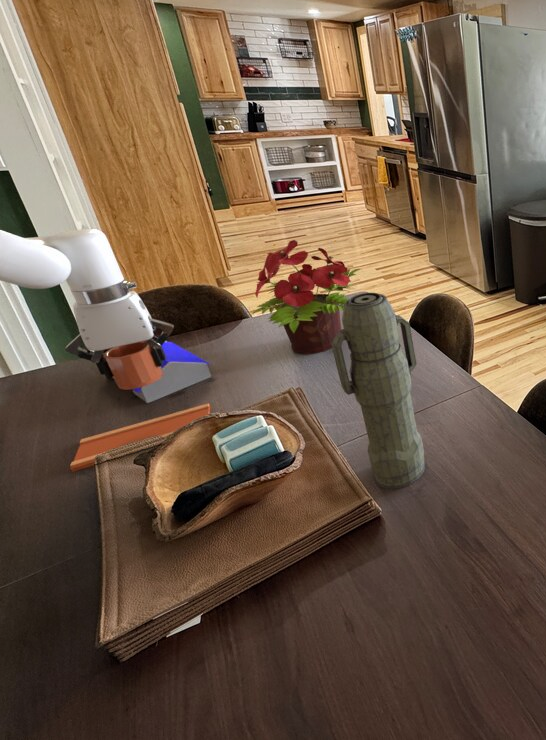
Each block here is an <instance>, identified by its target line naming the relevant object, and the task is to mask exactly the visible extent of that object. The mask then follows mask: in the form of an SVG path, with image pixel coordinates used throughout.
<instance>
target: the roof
mask: <svg viewBox="0 0 546 740" xmlns="http://www.w3.org/2000/svg"><path fill="white" fill-rule="evenodd" d="M162 348H163V351H164V353H165V356H166V360H164V361H163V366H161V368H162V371H163V376H162V377H161V378H160V379H159V380H157V381H155V382H153V383H151V384H149V385H146V386H143V387H140V388H136V389H131V390H132V393H133V394H134V395H135V396H137V397H138V398H139V399H141V400H142V401H143V402H145V403H146V404H149V403H152V402H155V401H156V400H160V399H162V398H164V397H166V396H169V395H171V394H173V393H176V392H178V391H182V390H183V389H185V388H188V387H190V386H193V385H195V384H198V383H201V382H203V381H205V380H207V379H209V378H212V377H213V376H212V374H211V371H210V368H209V365H211V363H210V362H208V361H206V360H204V359H202V358H201V357H199V356H197V355H195V354H194V353H192V352H190V351H188V350H186V349H184V348H182V347H181V346H180V345H177V344H176V343H174V342H172V341H167V340H166V341H165V342H164V343H163V345H162ZM111 379H113V380H114V378H113V377H112V378H111Z"/></svg>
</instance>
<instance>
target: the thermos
mask: <svg viewBox="0 0 546 740" xmlns="http://www.w3.org/2000/svg"><path fill="white" fill-rule="evenodd" d="M341 322H342V323H341V324H342V327H343V329H342V328H341V330H340V333H337V334H336V335H335V337H334V339H333V341H332V343H331V345H332V348H331V350H332V353H333V357H334V361H335V364H336V369H337V374H338V378H339V381H340V384H341V388H342V390H343V392H344V393H345V394H346V395H347V396H349V395H352V394H354V397H355V400H356V402H357V403H358V404H359V406H360V408H361V413H362V417H363V422H364V426H365V430H366V434H367V435H366V436H367V440H368V447H367V455H368V459H369V462H370V463H369V464H370V467H371V470H372V473H373V474H374V480H375V483H376V484H377V485H378V486H379V487H380V488H383V489H385V490H397V489H402V488H405V487H407V486H410V485H412V484H414V483H415V482H416V481H418V480H419V479H420V477H422V475H423V474H424V472H425V469H426V460H425V449H424V443H423V440H422V439H423V438H422V435H421V434H420V432H419V431H418V428H417V423H416V417H415V412H414V407H413V401H412V396H411V390H412V385H413V384H412V377H411V375H412V372H413V371H414V369H415V368H416V366H417V363H418V362H417V360H416V353H415V347H414V342H413V341H414V340H413V335H412V329H411V324H410V322H409V321H408V320H407V319H405V318H404V317H402V316H401V315H400V314H397V315H396V313H395V310H394V308H393V306H392V305H391V303H390V301H389V300H388V298H387V296H386V295H384V294H382V293H378V292H363V293H359V294H356V295H354V296H351V297H350V298H348V299H347V301H346V302H345V304H344V309H343V311H342V316H341ZM399 325H400V330H401V335H402V341H403V348H404V351H402V345H401V343H400V341H399V339H400V335H399V328H398V326H399ZM344 341H346V344H347V348H348V350H349V351H350V354H349V358H350V365H349V374H348V369H347V365H346V361H345V356H344V353H343V349H342V344H343V342H344ZM404 353H405V354H404ZM349 376H350V378H349Z"/></svg>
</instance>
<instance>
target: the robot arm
mask: <svg viewBox="0 0 546 740" xmlns="http://www.w3.org/2000/svg"><path fill="white" fill-rule="evenodd" d="M121 270H122V269H121V268H120V266H119V263H118V261H117V259H116V255H115V253H114V252H113V249H112V246H111V245H110V242H109V240H108V238H107V236H106V234H105V233H104V232H103V231H101V230H99V229H96V228H95V229H93V228H82V229H73V230H67V231H62V232H59V233H56V234H53V235H45V236H34V237H22V236H19V235H16V234H13V233H10V232H7V231H5V230H2V229H0V281H1V282H4V283H8V284H11V285H15V286H17V287H22V288H26V289H30V290H31V289H32V290H44V289H50V288H53V287H56V286H59V285H61V284H63V283H64V282H65V281H66V283H67V285H68V288H69V290H70V292H71V294H72V296H73V298H74V301H75V302H74V303H73V307H72V308H73V312H74V313H73V314H74V318H75V321H76V325H77V328H78V331H79V334H78V335H77V336H75V338H74V339H73V340H71V341H70V342H69V343H68V344H67V345H66V347H65V348H64V351H65V352H66V353H69V354H71V355H73V356H77V357H78V358H80V359H83V360H86V361H89V362H91V363H92V364H95V365H96V366H97V369H98V371H99V373H100V375H101V376H103V375H104V377H105V378H106V379H107V380H110V379H113V378H112V377H113V376H112V374H111V372H110V370H109V368H108V365H107V363H106V361H105V359H104V357H103V356H104V353H105V350H110V349H112V348H115V347H120V346H124V345H129V344H133V343H138V342H142V341H143V342H145V343H146V344H148V345H149V346H151V347H152V354H153V357H154V359H155V361H156V364H157V366H159V367H160V366H163V361H164V360H166V356H165V353H164V351H163V348H162V345H163V343H164V342H165V341H167V340H168V338H169V336H170V335H171V333H172V332H173V330H174V328H175V327H174V326H175V324H173V323H169V322H166V321H163V320H159V319H155V318H152V316H151V314H150V312H149V310H148V308H147V307H146V305H145V303H144V302H143V300H142V298H141V297H140V295H139V294H138V293H137V292H136V291H134V289H137V288H138V284H137V281H128V280H127V279H126V278H125V277H124V275H123V273H122V271H121ZM131 290H132V291H131ZM156 329H159V330H162V332H161V333H160V335H158V336H156V335H155V334H154V331H156ZM82 344H84V346H85V348H82V347H80V346H81V345H82Z"/></svg>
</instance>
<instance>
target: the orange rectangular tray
mask: <svg viewBox="0 0 546 740" xmlns="http://www.w3.org/2000/svg"><path fill="white" fill-rule="evenodd" d="M208 414H210V415H211V405H210V402H208V403H205V404H201V405H197V406H194V407H190V408H187V409H183V410H181V411H175V412H173V413H171V414H165V415H163V416H159V417H155V418H151V419H148V420H145V421H141V422H137V423H134V424H131V425H127V426H124V427H120V428H116V429H113V430H109V431H106V432H102V433H99V434H95V435H92V436H91V435H90V436H88V437H85V438H81V439H80V441H79V447H78V449H77V451H76V454H75V456H74V458H73V461H71V463H70V466H69V467H70V468H69V470H70V471H71V473H74V472H78V471H81V470H84V469H87V468H90V467H94V466H95V465H94V462H95V457H96V456H97V455H100V454H102V453H105V452H106V451H108V450H110V449H113V448H117V447H120V446H123V445H125V444H128V443H131V442H135V441H138V440H142V439H145V438H148V437H152V436H156V435H158V436H167V435H169V434H171V433H172V432H174V431H176V430H177V429H179V428H181V427H183V426H185V425H187V424H189V423H190V422H192V421H193V420H195V419H198V418H201V417H203V416H205V415H208Z"/></svg>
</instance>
